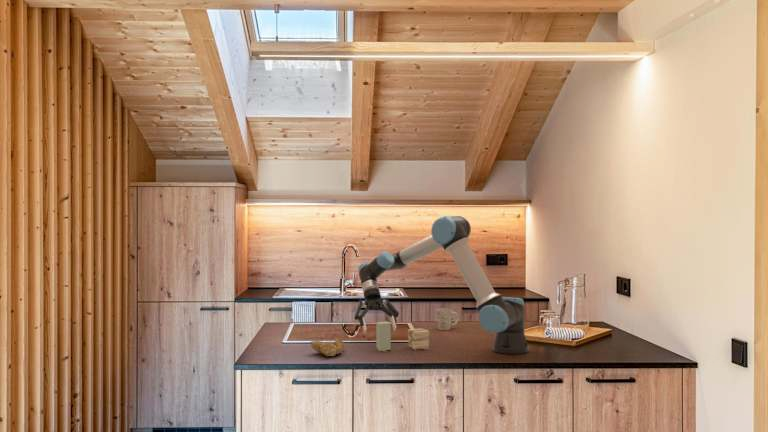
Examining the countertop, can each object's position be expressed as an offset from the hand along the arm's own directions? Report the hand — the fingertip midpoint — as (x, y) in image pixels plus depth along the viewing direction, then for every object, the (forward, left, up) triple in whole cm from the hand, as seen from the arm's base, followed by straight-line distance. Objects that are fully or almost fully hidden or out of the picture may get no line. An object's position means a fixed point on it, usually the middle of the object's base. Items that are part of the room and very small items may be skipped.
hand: (380, 330), depth 272 cm
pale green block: (-2, -1, -8) cm, 9 cm away
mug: (+34, -46, -8) cm, 57 cm away
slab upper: (-3, -17, -4) cm, 17 cm away
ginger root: (-3, +23, -8) cm, 25 cm away
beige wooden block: (-3, -17, -8) cm, 19 cm away
